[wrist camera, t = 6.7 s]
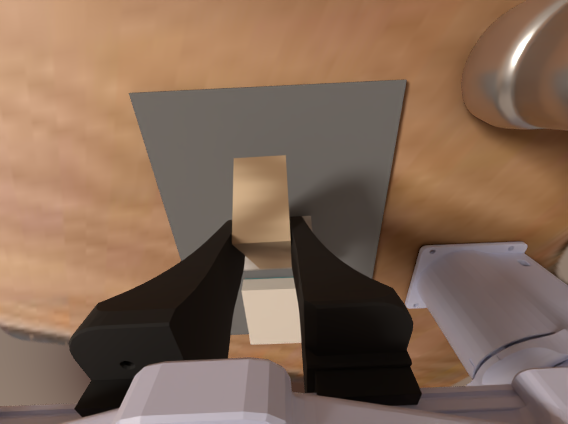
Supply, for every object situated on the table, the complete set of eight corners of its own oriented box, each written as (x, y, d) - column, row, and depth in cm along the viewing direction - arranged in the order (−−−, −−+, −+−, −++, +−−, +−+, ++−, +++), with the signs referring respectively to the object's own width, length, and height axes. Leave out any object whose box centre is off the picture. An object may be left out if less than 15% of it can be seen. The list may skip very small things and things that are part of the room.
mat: (404, 79, 16) (406, 79, 16) (362, 326, 28) (363, 329, 28) (132, 92, 17) (128, 93, 16) (205, 332, 29) (204, 335, 28)
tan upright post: (324, 152, 11) (335, 238, 10) (310, 218, 21) (314, 267, 20) (194, 160, 11) (187, 246, 10) (239, 222, 21) (238, 271, 20)
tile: (318, 287, 23) (316, 342, 27) (316, 275, 24) (314, 328, 28) (241, 290, 23) (250, 344, 27) (243, 277, 24) (252, 330, 28)
